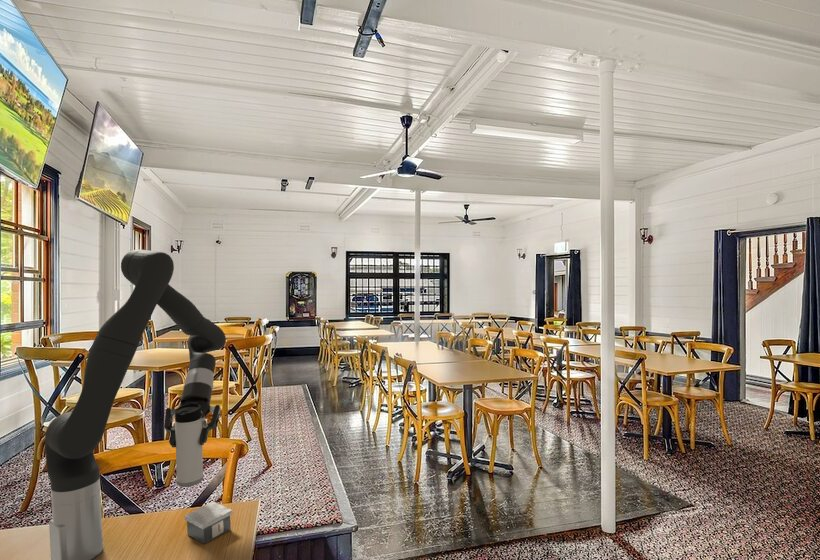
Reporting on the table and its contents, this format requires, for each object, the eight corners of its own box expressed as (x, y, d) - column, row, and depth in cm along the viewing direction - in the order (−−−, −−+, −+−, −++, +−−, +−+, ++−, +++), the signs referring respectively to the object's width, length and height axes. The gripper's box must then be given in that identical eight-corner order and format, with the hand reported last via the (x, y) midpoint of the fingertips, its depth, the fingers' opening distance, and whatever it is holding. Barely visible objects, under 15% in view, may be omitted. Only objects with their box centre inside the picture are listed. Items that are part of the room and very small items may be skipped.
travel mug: (208, 476, 124) (206, 402, 124) (194, 487, 118) (192, 410, 117) (186, 475, 125) (184, 402, 124) (171, 487, 118) (169, 409, 118)
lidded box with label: (203, 545, 110) (202, 525, 110) (185, 535, 115) (184, 515, 115) (232, 529, 117) (232, 510, 117) (214, 520, 122) (213, 501, 121)
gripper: (167, 382, 126) (153, 441, 115) (222, 379, 129) (214, 436, 118) (173, 396, 132) (161, 453, 121) (227, 393, 135) (219, 448, 123)
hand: (187, 444), depth 119 cm, fingers closed on travel mug, 6 cm apart
